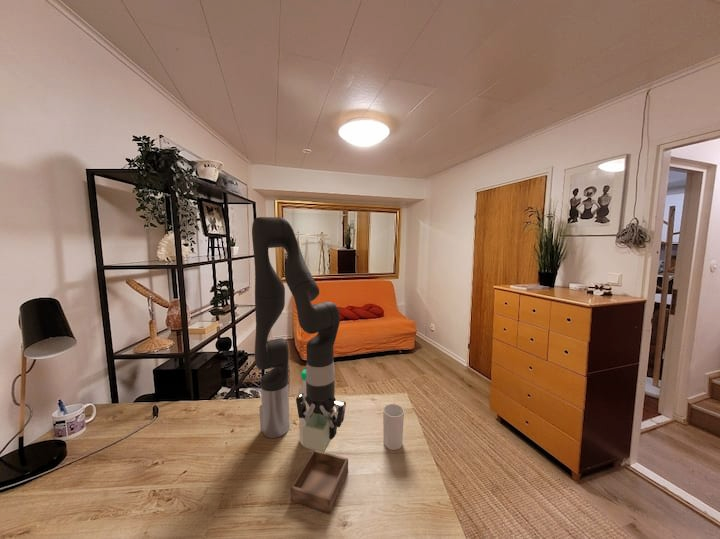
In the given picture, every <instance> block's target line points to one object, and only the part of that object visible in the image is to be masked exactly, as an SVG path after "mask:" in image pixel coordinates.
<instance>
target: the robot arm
mask: <svg viewBox="0 0 720 539" xmlns="http://www.w3.org/2000/svg"><path fill="white" fill-rule="evenodd" d="M251 227H252V228H251V237H252V240H251V241H252V249H253V250H252V251H253V259H254V308H255V310H254V311H255V337H254V338H255V339H254V362H255V365H256V368H257V369H258V370H260V371H262V370H263V371H264V370H268V369H270V370H269V371H268V372H266V373H265V374H263V375H262V376H261V378H260V394H261V405H260V406H259V408H258V409H259V424H260V426H259V427H260V432H261V433H262V434H263V436H265V437H266V438H269V439H270V438H271V439H276V438H280V437H282V436H284V435H285V434H286V433H288V431H289V430H290V427H291V426H290V393H289V363H290V361H289V360H290V359H289V358H290V356H289V355H290V354H289V353H290V352H289V351H290V350H289V345H288V341H287V340H286V339H285V338H283V337H281V338H275V339H270V340H268V337H269V335H270V332H271V330H272V329H273V327H274V325H275V324H276V322H277V321H278V320H279V318H280V316H281V314H282V313H283V311H284V308H285V305H286V304H285V303H286V301H285V300H286V288H285V285H284V282H283V280H282V279H281V277H280V276H279V275H278V273H277V272H276V271H275V269H274V267H273V266H272V263H271V260H270V256H269V249H270V248H271V249H273V248H283V249H284V251H285V252H286V255H287V258H286V262H285V266H284V279H285V282H286V285H287V287H288V289H289V291H290V293H291V295H292V297H293V299H294V303H295V308H296V314H297V320H298V324H299V327H300V328H301V329H302V330H303V332H305V333H306V334H309V335H311V334H312V335H313V334H316V333H317V334H316V335H315V336H314V337H312V338H311V339H309V340H308V341H307V343H306V348H305V350H306V365H305V369H306V394H307V395H304V394H303V393H301V394H300V395H299V396H297V397H296V398H295V401H296V407H297V416H298V419H299V418H304V420H305V422H306V421H307V419H308V418H310V417H311V415H312V414H313V413H315V414H321V415H324V417H325V419H326V421H328V422H329V425H330V427H329V439H331V440H333V439H334V438H335V437H336V434H338V433H337V429H338V428H340V427H341V425H342V423H343V422H344V418H345V414H346V413H345V412H346V406H347V403H346V401H342V402H341V401H338V400H336V397H335V392H336V390H335V388H336V387H335V384H336V383H335V378H336V373H335V370H336V369H335V363H334V361H335V360H334V352H335V351H334V350H335V349H334V347H335V342H336V339H337V336H338V331H339V326H340V322H341V314H340V311H339V308H338V306H337V305H336V304H335V303H334V302H332V301H324V302H321V303H320V302H319V303H315V304H313V303H312V302H313V301H314V300H316V299H317V298H318V297H319V295H320V288H319V286H318V284H317V282H316V281H315V279H314V277H313V275H312V273H311V272H310V270H309V268H308V266H307V264H306V261H305V259H304V256H303V253H302V251H301V247H300V245H299V241H298V239H297V236H296V234H295V231H294V228H293V226H292V224H291V222H290V221H289V220H288V219H287V218H285V217H282V216H281V217H280V216H278V217H277V216H274V217H272V216H271V217H270V216H268V217H267V216H259V217H255V218H254V220H253V222H252V226H251ZM305 402H307V404H308V405H309V407H310V408H309V410H308V412H307V410H306V403H305ZM334 408H335V409H336V410H337V418H336V415H335V410H334Z"/></svg>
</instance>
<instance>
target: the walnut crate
mask: <svg viewBox="0 0 720 539" xmlns="http://www.w3.org/2000/svg"><path fill="white" fill-rule="evenodd" d="M348 473H349V458H347V457H343V456H339V455H335V454H332V453H328V452H326V451H325V452H320V451H317V450H313V449H312V452H311V453H310V455H309V457H308V459H307V460H306V462H305V464H304V465H303V466H302V469H300V471H299V472H298V475H297V476H296V478H295V480H294V481H293V482H292V484H291V486H290V501H291V502H293V503H296V504H298V505H301V506H305V507H307V508H309V509H313V510H316V511H319V512H321V513H324V514H328V515H331V513H332V511H333V508H334V505H336V504H335V503H336V501H337V499H338V496H339V494H340V491H341V489H342V487H343V485H344V483H345V479H346V477H347V475H348Z"/></svg>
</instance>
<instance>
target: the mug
mask: <svg viewBox="0 0 720 539" xmlns="http://www.w3.org/2000/svg"><path fill="white" fill-rule="evenodd" d="M382 416H383V422H382V423H383V444H384V446H385V448H387V449H389V450H391V451H397V450H399V449H401V447H403V446H402V445H403V439H404V437H403V436H404V419H405V418H404V417H405V410H404V408H403V407H402V406H401V405H400V404H397V403H395V402H392V403H389V404H386V405H385V406H384V407H383V415H382Z"/></svg>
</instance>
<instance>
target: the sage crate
mask: <svg viewBox="0 0 720 539" xmlns="http://www.w3.org/2000/svg"><path fill="white" fill-rule="evenodd" d="M333 408H334V410H335V415H336V418H337V415H338V412H337V410H336V407H333ZM329 427H330V425H329V422H328V421H326V419H325V417H324V415H321V414H315V413H313V414H312V415H311V417H310V418H308V419H307V421H306V422H305V423H304V425H303V445H302V447H303V448H306V449H309V450H310V449H311V450H312V451H313V450H317V451H320V452H325V453H326V450H327V448H328V446H329V444H330V443H331V439H329Z"/></svg>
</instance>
